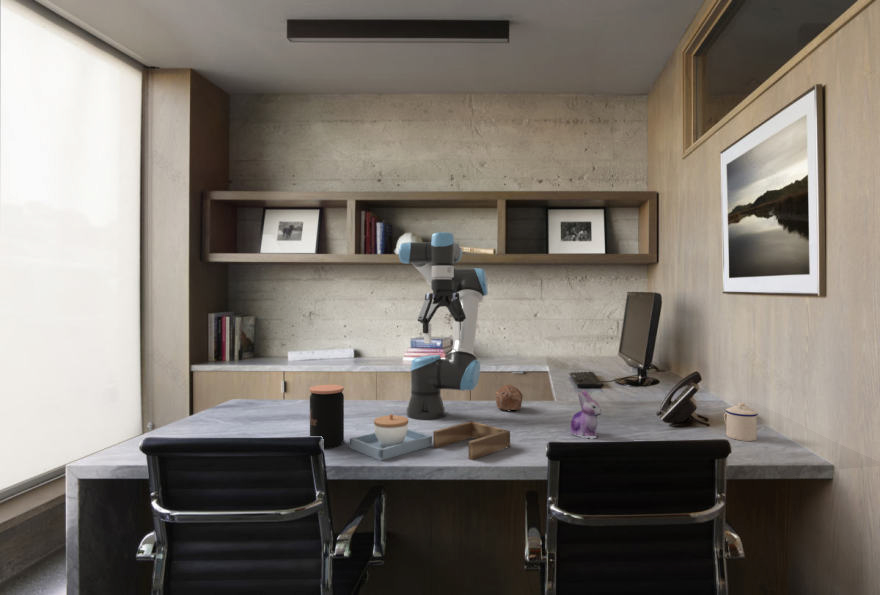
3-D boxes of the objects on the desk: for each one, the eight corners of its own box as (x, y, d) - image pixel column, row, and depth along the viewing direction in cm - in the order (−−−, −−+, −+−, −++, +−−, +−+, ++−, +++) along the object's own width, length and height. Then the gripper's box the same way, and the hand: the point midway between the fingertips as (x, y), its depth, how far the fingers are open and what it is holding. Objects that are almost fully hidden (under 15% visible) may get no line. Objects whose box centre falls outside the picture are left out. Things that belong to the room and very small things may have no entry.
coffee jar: (312, 439, 164) (312, 384, 164) (345, 438, 165) (345, 384, 165) (306, 449, 153) (306, 391, 153) (341, 448, 154) (341, 390, 154)
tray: (349, 447, 155) (349, 438, 155) (399, 435, 169) (399, 426, 169) (380, 460, 143) (380, 450, 143) (431, 445, 157) (431, 436, 157)
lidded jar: (379, 451, 149) (379, 420, 149) (370, 441, 159) (370, 412, 159) (413, 447, 153) (413, 416, 153) (401, 437, 163) (401, 409, 163)
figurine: (601, 440, 163) (601, 395, 163) (569, 437, 167) (569, 392, 166) (602, 433, 172) (602, 389, 172) (572, 430, 175) (572, 387, 175)
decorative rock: (495, 405, 213) (495, 382, 213) (522, 406, 212) (522, 382, 211) (494, 412, 200) (495, 388, 200) (523, 413, 199) (523, 388, 198)
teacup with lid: (764, 440, 163) (764, 405, 163) (739, 442, 161) (740, 406, 161) (736, 430, 175) (736, 397, 175) (713, 432, 173) (713, 398, 173)
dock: (433, 447, 156) (433, 431, 156) (471, 435, 168) (471, 421, 168) (472, 459, 144) (472, 442, 144) (510, 446, 156) (510, 431, 156)
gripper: (422, 277, 156) (422, 345, 156) (475, 279, 173) (475, 340, 174) (406, 278, 162) (406, 343, 162) (460, 279, 179) (460, 338, 179)
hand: (442, 342), depth 168 cm, fingers open, 13 cm apart
